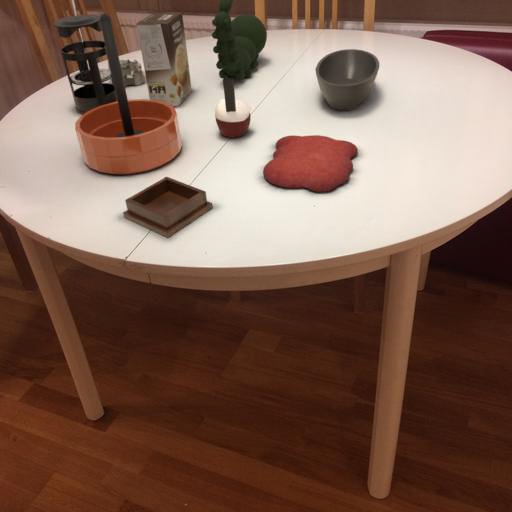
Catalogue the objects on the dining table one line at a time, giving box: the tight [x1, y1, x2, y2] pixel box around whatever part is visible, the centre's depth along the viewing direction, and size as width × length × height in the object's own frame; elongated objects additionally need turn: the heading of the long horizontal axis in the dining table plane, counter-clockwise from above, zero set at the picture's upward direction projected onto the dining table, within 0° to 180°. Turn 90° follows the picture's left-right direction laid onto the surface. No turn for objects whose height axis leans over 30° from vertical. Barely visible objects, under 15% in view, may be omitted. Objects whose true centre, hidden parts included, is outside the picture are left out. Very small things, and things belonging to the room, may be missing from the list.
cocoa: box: [214, 77, 252, 139], centre depth 91 cm, size 10×6×12 cm, turn 158°
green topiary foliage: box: [211, 0, 268, 80], centre depth 117 cm, size 9×19×25 cm
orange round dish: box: [74, 98, 183, 175], centre depth 89 cm, size 17×17×6 cm
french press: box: [53, 0, 117, 115], centre depth 103 cm, size 12×9×23 cm
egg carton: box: [107, 58, 145, 88], centre depth 121 cm, size 11×8×4 cm
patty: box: [262, 134, 358, 193], centre depth 84 cm, size 18×14×2 cm
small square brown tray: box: [122, 176, 214, 238], centre depth 74 cm, size 9×9×3 cm
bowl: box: [315, 48, 380, 112], centre depth 104 cm, size 12×22×6 cm, turn 167°
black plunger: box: [99, 13, 145, 137], centre depth 84 cm, size 6×6×22 cm
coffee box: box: [136, 11, 193, 108], centre depth 106 cm, size 9×6×16 cm
